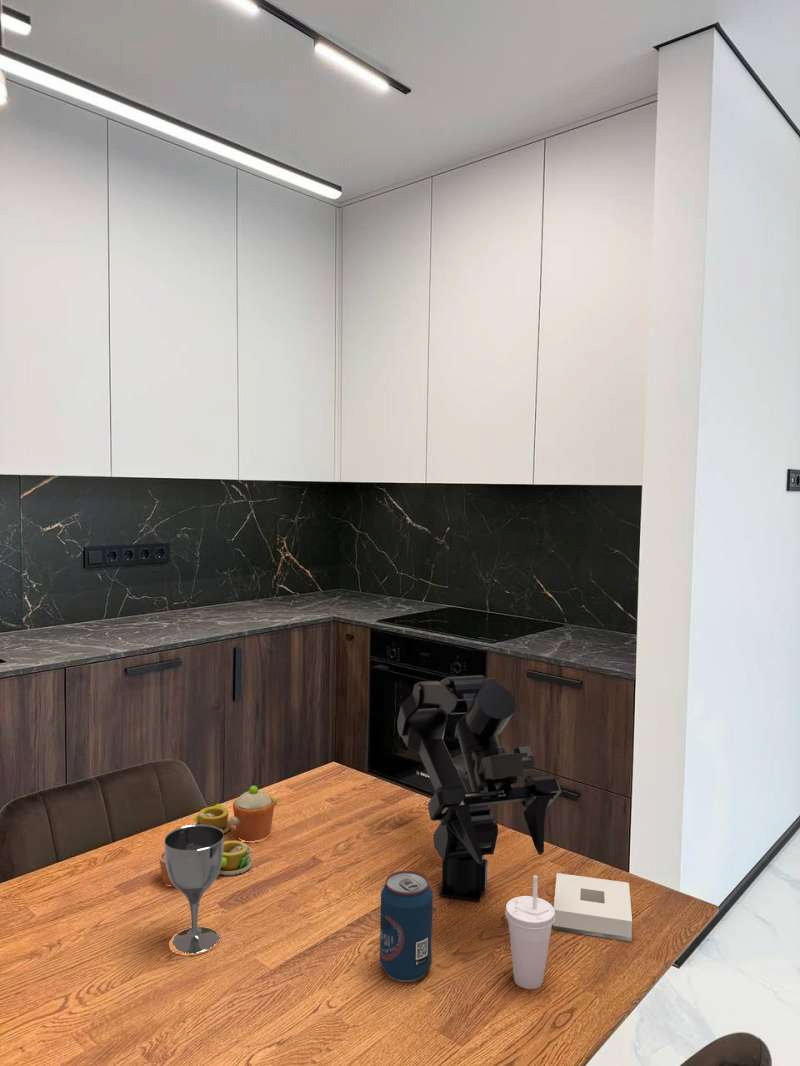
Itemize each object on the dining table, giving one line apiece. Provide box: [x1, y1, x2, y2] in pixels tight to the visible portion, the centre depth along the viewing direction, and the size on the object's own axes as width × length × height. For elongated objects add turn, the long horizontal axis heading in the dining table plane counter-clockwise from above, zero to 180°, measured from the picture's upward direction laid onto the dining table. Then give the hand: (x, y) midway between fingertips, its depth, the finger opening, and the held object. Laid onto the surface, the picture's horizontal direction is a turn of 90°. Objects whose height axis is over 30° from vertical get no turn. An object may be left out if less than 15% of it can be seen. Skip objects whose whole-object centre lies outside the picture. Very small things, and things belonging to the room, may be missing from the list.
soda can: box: [379, 870, 434, 983], centre depth 102 cm, size 7×7×12 cm
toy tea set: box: [158, 785, 278, 886], centre depth 133 cm, size 26×16×10 cm, turn 174°
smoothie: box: [504, 875, 555, 990], centre depth 100 cm, size 6×6×14 cm
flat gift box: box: [552, 872, 633, 943], centre depth 116 cm, size 11×11×3 cm
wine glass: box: [164, 823, 225, 954], centre depth 107 cm, size 8×8×15 cm
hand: (511, 858), depth 105 cm, fingers open, 9 cm apart
